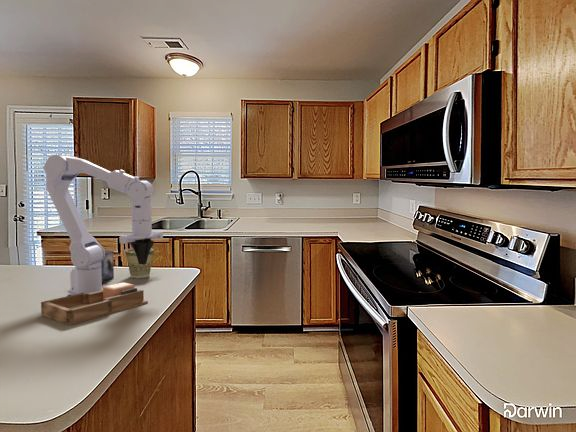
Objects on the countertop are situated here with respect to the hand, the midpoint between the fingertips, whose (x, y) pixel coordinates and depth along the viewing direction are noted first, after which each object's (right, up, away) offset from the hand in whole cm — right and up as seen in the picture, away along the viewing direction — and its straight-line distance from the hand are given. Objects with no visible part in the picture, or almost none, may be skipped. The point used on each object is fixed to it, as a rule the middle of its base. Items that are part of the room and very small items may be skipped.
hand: (142, 263), depth 137 cm
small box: (-22, -9, +20) cm, 31 cm away
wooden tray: (-9, -11, -12) cm, 19 cm away
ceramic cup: (-9, -8, +29) cm, 31 cm away
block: (-5, -11, -6) cm, 13 cm away
